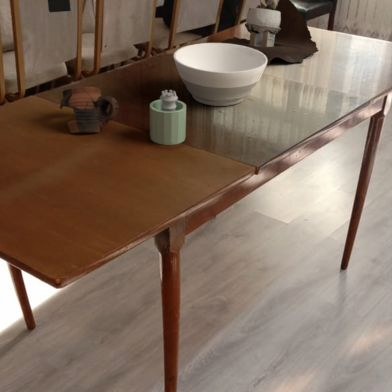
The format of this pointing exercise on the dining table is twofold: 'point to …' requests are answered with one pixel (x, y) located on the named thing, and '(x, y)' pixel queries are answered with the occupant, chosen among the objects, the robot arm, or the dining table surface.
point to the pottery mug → (88, 108)
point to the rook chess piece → (168, 100)
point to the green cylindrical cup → (167, 123)
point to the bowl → (219, 71)
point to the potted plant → (277, 32)
